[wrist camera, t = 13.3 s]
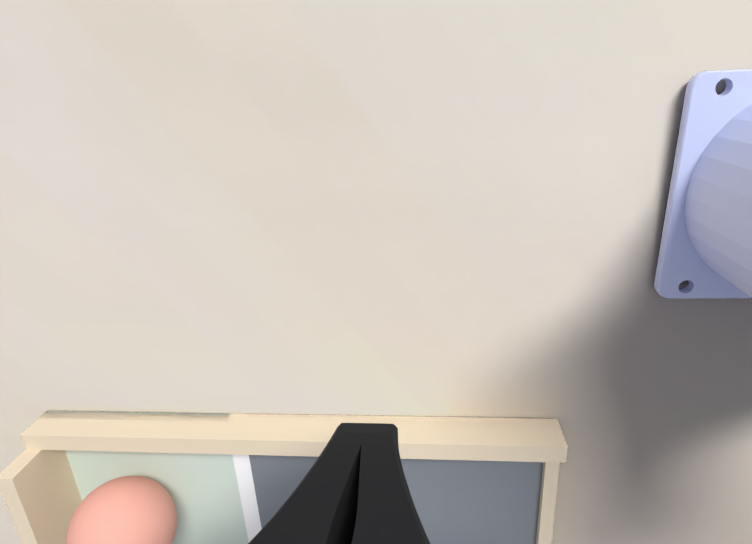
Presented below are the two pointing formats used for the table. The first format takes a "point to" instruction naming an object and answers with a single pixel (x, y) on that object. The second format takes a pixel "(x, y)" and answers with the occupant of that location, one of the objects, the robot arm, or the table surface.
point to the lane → (285, 471)
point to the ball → (125, 514)
